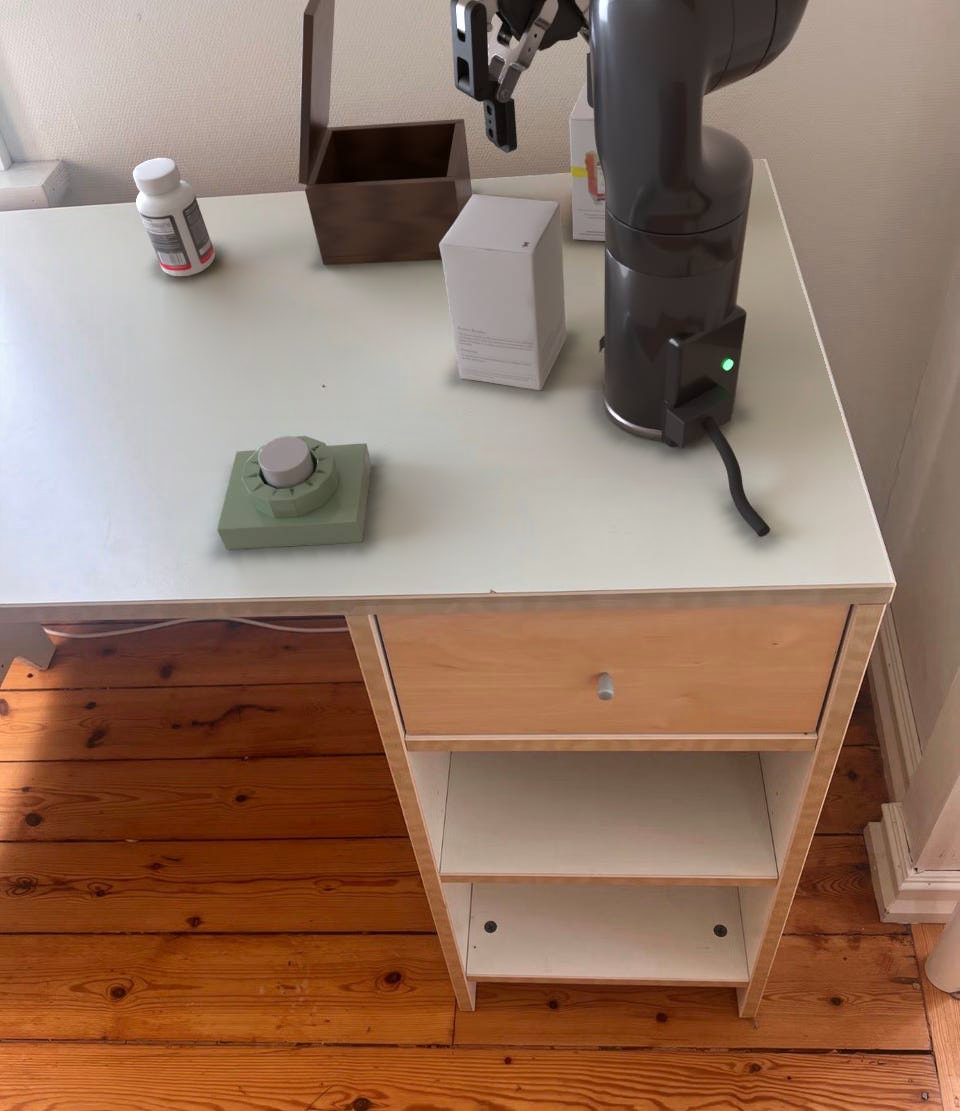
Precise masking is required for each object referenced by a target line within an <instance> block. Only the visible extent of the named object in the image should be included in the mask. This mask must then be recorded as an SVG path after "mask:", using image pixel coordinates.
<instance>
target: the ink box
mask: <svg viewBox="0 0 960 1111" xmlns="http://www.w3.org/2000/svg"><path fill="white" fill-rule="evenodd" d="M568 123H569V124H568V125H569V147H570V149H569V150H570V169H571V171H570V172H571V176H570V177H571V206H572V210H571V211H572V213H571V214H572V239H573V240H582V241H593V242H594V241H595V242H596V241H597V242H598V241H599V242H605V180H604V176H603V172H602V168H601V165H600V161H599V158H598V153H597V149H596V143H595V132H594V111H593V108H591V107H590V106H589V104H588V101H587V76H586V78H585V81H584V83H583V84H582V88H581V89H580V92H579V95H578V97H577V99H576V102H575V104H574V106H573V109H572V110H571V113H570V115H569V118H568Z"/></svg>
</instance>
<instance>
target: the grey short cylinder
mask: <svg viewBox="0 0 960 1111" xmlns="http://www.w3.org/2000/svg"><path fill="white" fill-rule="evenodd" d="M264 445H265V446H264V447H263V448H262V449H261V451H260V453H259V456H258V461H259V464H260V467H261V470H262V473H263V475H264V478H265V480H266V482H267V483H268V484H269V485H271V486H273V487H275V488H280V489H283V488H293V487H295V486H297V485H299V484H302V483H304V482H305V481H307V480H308V479H309V478H310V476H311V475H312V473H313V470H314V464H313V461H312V457H311V454H310V451H309V448H308V445H307V444H306V442H304V441H303V440H302V439H300V438H297V437H295V436H290V435H288V436H287V435H286V436H281V437H276V438H274V439H272V440H270V441H269V442H267V443H266V444H264Z"/></svg>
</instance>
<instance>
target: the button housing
mask: <svg viewBox="0 0 960 1111" xmlns="http://www.w3.org/2000/svg"><path fill="white" fill-rule="evenodd" d="M294 437H297V438H300V439H302V440H303V441H304V442H306V444H307V445H308V448H309V451H310V454H311V457H312V461H313V464H314V470H313V473H312V475H311V476H310V478H309V479H308V480H307V481H305V482H304V483H302V484H299V485H297V486H295V487H293V488H283V489H280V488H275V487H273V486H271V485H269V484H268V483H267V482H266V480H265V478H264V475H263V473H262V470H261V467H260V464H259V461H258V456H259V453H260V451H261V449H262V448H263V447H264V446H265V445H266V444H264V445H261V446H260V447H259V448H258V449H255V450H240V451H239V450H237V451H235V457H234V460H233V464H232V468H231V472H230V477H229V480H228V485H227V488H226V492H225V497H224V499H223V500H224V501H223V505H222V508H221V512H220V517H219V520H218V524H217V529H216V531H217V532H218V535H219V537H220V540H221V543H222V544H223V546H224V548H225V550H245V549H261V548H263V549H264V548H281V547H298V546H300V547H301V546H317V545H319V546H320V545H335V544H336V545H337V544H351V543H352V544H356V543H363V540H364V533H365V522H366V515H367V514H366V513H367V506H368V497H369V489H370V480H371V473H372V472H371V471H372V460H371V456H370V452H369V448H368V444H367V443H364V442H363V443H350V444H348V443H347V444H333V445H331V444H330V445H327V444H326V442H324V441H320V440H318V439H315V438H313V437H310V436H307V435H297V436H294Z"/></svg>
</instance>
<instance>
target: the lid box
mask: <svg viewBox="0 0 960 1111" xmlns="http://www.w3.org/2000/svg"><path fill="white" fill-rule="evenodd" d="M304 193H305V196H306V201H307V205H308V209H309V212H310V216H311V221H312V224H313V229H314V232H315V233H314V234H315V237H316V242H317V245H318V250H319V254H320V257H321V262H322V265H323V266H331V265H352V264H353V265H355V264H372V263H374V264H376V263H396V262H415V261H416V262H417V261H436V260H442V257H441V252H440V247H439V243H440V242H441V241H442V239H443V238H444V236H445V235H446V233H447V232H448V231H449V229H450V228H451V227H452V225H453V224H454V222H455V221H456V219H457V217H458V216H459V214H460V213H461V211H462V210H463V208H464V207H465V205H466V204H467V202H468V201H469V199H470V198H471V196H472V195H473V189H472V179H471V171H470V161H469V152H468V143H467V133H466V123H465V119H464V118H455V119H454V118H453V119H441V120H423V121H408V122H407V121H405V122H394V123H393V122H392V123H375V124H362V125H361V124H360V125H345V126H344V125H343V126H331V127H329V126H328V127H327V130H326V132H325V135H324V138H323V141H322V144H321V147H320V150H319V153H318V156H317V159H316V162H315V165H314V168H313V171H312V174H311V177H310V180H309V183H308V185H306V184H305V187H304Z"/></svg>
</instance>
